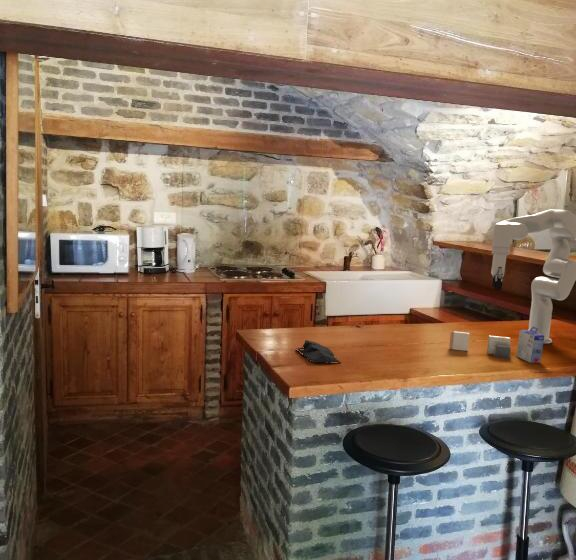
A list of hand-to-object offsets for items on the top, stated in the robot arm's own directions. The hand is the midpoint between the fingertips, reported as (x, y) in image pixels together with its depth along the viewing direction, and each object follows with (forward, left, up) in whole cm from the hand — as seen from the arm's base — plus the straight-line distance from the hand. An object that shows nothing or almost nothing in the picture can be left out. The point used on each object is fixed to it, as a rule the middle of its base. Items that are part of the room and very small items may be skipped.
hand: (496, 288), depth 257 cm
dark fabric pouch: (+43, -72, -29) cm, 89 cm away
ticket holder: (+9, +2, -28) cm, 30 cm away
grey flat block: (+9, -14, -28) cm, 33 cm away
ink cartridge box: (+12, +15, -29) cm, 34 cm away
